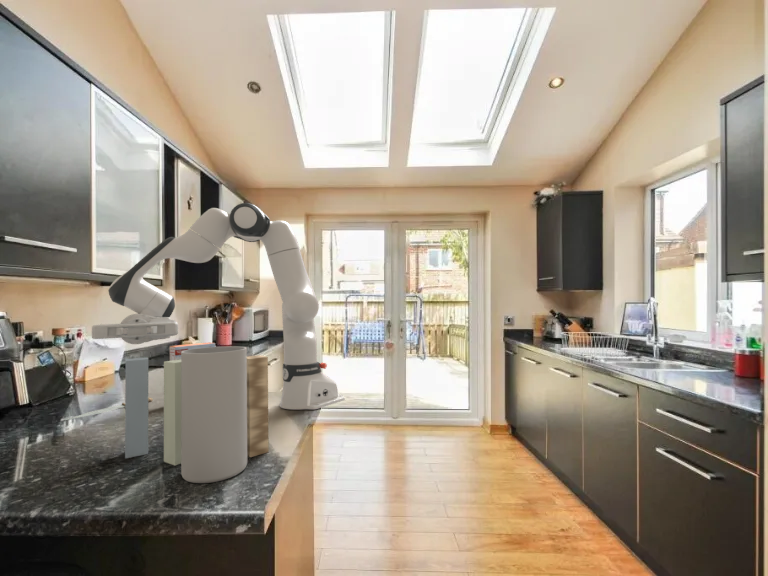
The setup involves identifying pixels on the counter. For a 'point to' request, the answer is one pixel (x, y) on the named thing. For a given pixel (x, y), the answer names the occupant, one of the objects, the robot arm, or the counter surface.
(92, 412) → the knife
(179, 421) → the post sage
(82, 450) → the counter surface
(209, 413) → the cylinder vase
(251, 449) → the post oak
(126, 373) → the post slate
